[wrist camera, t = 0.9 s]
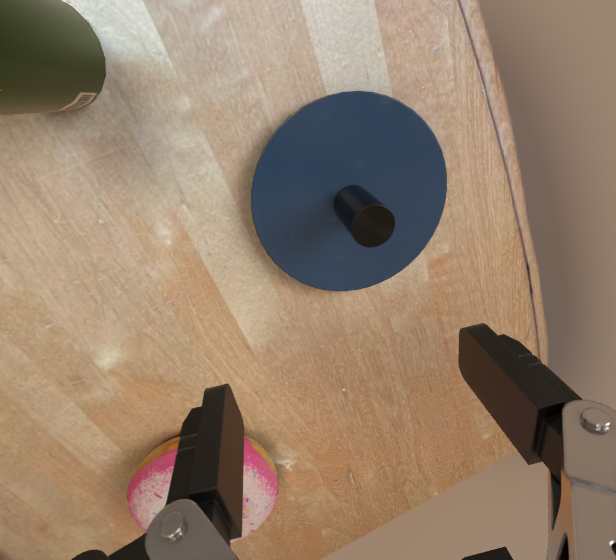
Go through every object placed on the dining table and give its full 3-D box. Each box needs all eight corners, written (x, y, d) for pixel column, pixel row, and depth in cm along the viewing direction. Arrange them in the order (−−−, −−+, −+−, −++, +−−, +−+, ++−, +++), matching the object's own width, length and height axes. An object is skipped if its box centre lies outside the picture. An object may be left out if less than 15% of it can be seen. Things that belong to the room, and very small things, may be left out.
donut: (297, 477, 39) (303, 526, 35) (188, 522, 40) (180, 575, 35) (238, 398, 33) (236, 445, 28) (110, 453, 33) (88, 507, 29)
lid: (214, 145, 23) (202, 160, 17) (415, 53, 22) (468, 38, 17) (297, 310, 29) (307, 357, 24) (455, 243, 29) (502, 276, 23)
